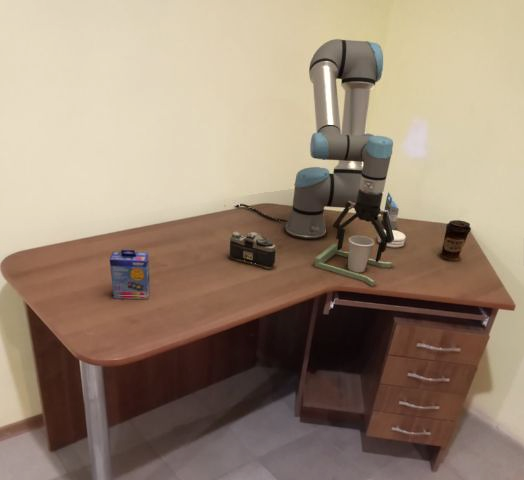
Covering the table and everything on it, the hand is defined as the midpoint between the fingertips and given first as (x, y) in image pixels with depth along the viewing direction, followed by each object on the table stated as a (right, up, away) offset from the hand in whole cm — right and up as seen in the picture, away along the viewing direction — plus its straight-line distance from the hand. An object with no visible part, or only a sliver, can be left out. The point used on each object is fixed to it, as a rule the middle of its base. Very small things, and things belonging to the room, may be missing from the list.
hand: (358, 254), depth 171 cm
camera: (-34, -2, +2) cm, 34 cm away
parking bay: (-2, -4, +3) cm, 5 cm away
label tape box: (+19, +19, +40) cm, 48 cm away
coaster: (+16, +9, +24) cm, 30 cm away
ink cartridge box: (-69, -16, -24) cm, 75 cm away
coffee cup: (+36, +2, +16) cm, 39 cm away
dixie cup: (0, -4, +2) cm, 5 cm away
